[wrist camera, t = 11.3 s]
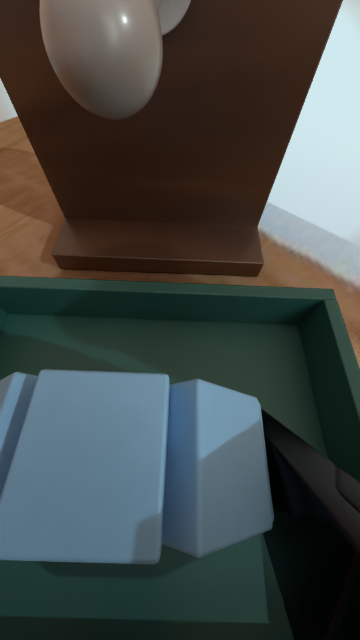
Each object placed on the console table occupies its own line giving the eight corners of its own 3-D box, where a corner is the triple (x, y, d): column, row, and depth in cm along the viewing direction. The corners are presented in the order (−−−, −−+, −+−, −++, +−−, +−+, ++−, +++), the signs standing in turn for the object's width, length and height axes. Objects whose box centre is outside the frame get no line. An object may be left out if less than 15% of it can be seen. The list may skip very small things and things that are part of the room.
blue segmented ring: (230, 491, 9) (345, 572, 3) (45, 485, 9) (-214, 556, 3) (226, 420, 10) (303, 377, 4) (62, 415, 10) (-99, 362, 4)
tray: (395, 712, 7) (524, 864, 5) (-159, 699, 7) (-358, 849, 4) (302, 320, 13) (333, 288, 11) (7, 308, 13) (-34, 273, 11)
